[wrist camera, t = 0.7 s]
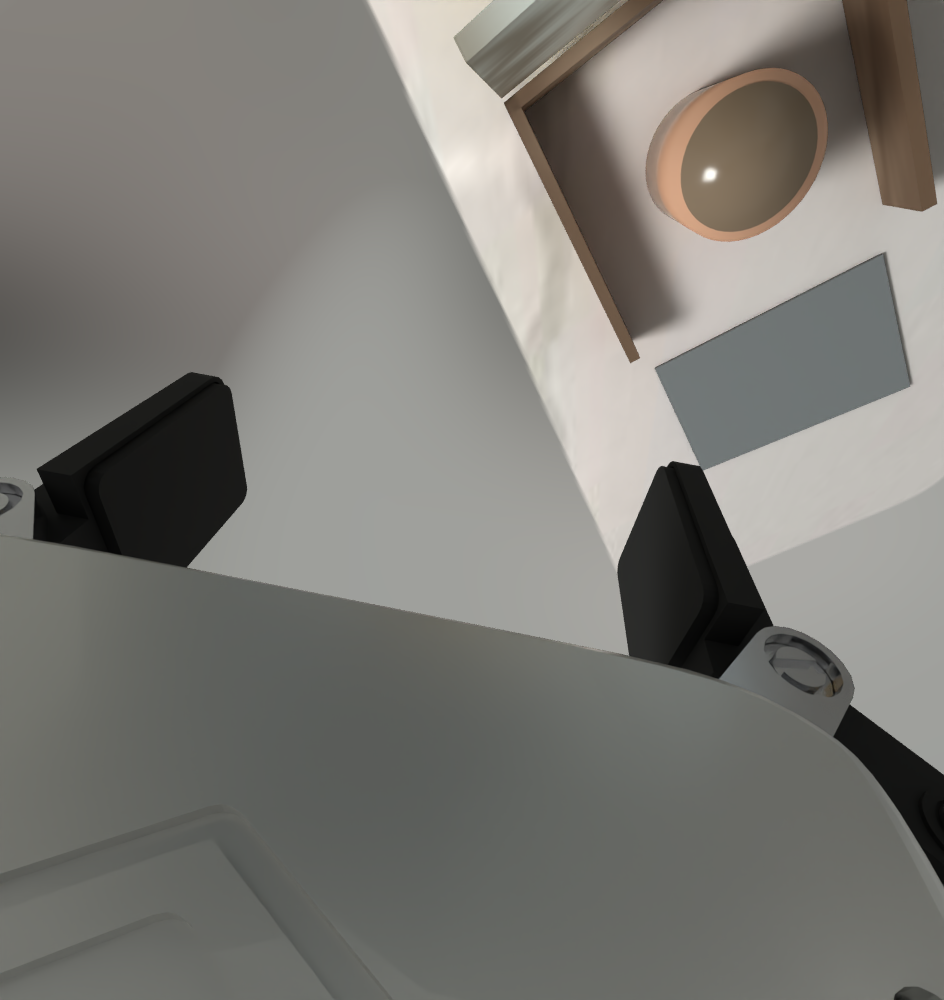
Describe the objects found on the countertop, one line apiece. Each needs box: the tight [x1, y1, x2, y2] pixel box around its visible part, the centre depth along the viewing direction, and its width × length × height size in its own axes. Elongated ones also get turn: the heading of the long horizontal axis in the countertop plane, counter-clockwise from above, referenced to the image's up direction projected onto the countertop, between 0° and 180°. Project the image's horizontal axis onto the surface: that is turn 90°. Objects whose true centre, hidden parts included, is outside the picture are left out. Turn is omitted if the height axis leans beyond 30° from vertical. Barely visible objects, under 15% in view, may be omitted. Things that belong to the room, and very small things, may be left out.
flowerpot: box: [645, 68, 828, 242], centre depth 24 cm, size 6×6×7 cm
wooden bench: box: [453, 0, 937, 363], centre depth 20 cm, size 15×15×16 cm
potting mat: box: [655, 254, 910, 470], centre depth 33 cm, size 13×9×1 cm
